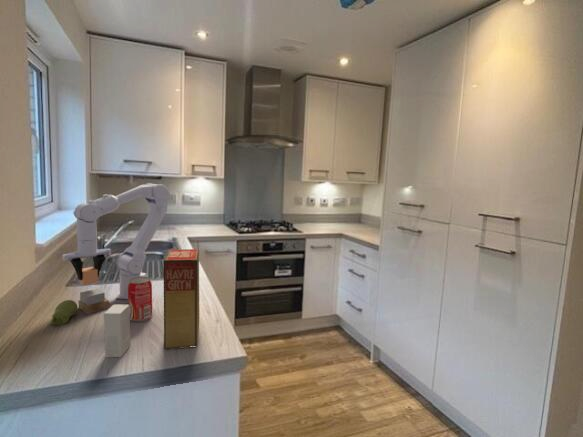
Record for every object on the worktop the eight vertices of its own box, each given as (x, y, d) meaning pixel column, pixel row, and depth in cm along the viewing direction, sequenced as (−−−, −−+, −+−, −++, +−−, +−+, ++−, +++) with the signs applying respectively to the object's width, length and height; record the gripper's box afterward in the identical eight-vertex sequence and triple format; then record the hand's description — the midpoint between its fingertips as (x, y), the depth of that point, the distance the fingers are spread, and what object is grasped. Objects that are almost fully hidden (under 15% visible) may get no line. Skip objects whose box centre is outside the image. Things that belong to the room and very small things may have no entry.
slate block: (97, 296, 121) (97, 288, 120) (104, 301, 118) (104, 292, 117) (80, 301, 116) (79, 292, 116) (87, 305, 113) (87, 296, 113)
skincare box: (114, 345, 94) (113, 303, 92) (130, 345, 94) (130, 304, 93) (104, 357, 88) (103, 313, 86) (121, 357, 88) (120, 313, 87)
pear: (79, 297, 112) (65, 314, 103) (81, 311, 114) (67, 329, 104) (60, 297, 111) (44, 314, 102) (62, 311, 113) (47, 329, 103)
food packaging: (168, 327, 106) (168, 248, 103) (199, 326, 108) (201, 248, 105) (162, 349, 93) (162, 260, 90) (198, 347, 95) (199, 259, 92)
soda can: (156, 315, 114) (156, 278, 112) (140, 324, 107) (140, 284, 105) (139, 312, 116) (139, 274, 114) (123, 320, 109) (122, 280, 108)
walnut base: (100, 303, 123) (100, 295, 122) (109, 309, 118) (108, 300, 118) (78, 308, 117) (78, 300, 117) (86, 314, 113) (86, 306, 113)
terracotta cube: (92, 279, 122) (92, 266, 121) (97, 282, 119) (97, 269, 118) (78, 281, 118) (78, 269, 118) (83, 285, 115) (83, 272, 115)
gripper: (105, 235, 124) (105, 271, 126) (58, 239, 113) (60, 279, 115) (113, 238, 120) (114, 275, 122) (66, 243, 109) (67, 284, 111)
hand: (88, 277), depth 118 cm, fingers closed on terracotta cube, 4 cm apart
